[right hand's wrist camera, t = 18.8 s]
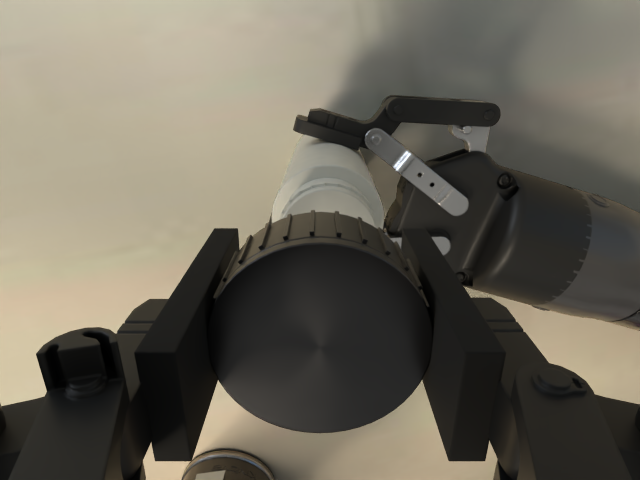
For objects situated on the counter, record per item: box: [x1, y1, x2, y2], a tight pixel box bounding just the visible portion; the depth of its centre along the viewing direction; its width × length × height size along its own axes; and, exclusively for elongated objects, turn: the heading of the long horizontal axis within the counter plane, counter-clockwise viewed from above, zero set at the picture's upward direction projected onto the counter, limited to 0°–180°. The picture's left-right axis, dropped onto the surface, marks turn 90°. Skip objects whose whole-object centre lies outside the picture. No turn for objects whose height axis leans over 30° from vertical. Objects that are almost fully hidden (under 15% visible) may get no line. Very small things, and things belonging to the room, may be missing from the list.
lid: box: [207, 210, 433, 433], centre depth 11 cm, size 6×6×2 cm
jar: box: [272, 134, 384, 230], centre depth 24 cm, size 5×5×15 cm
